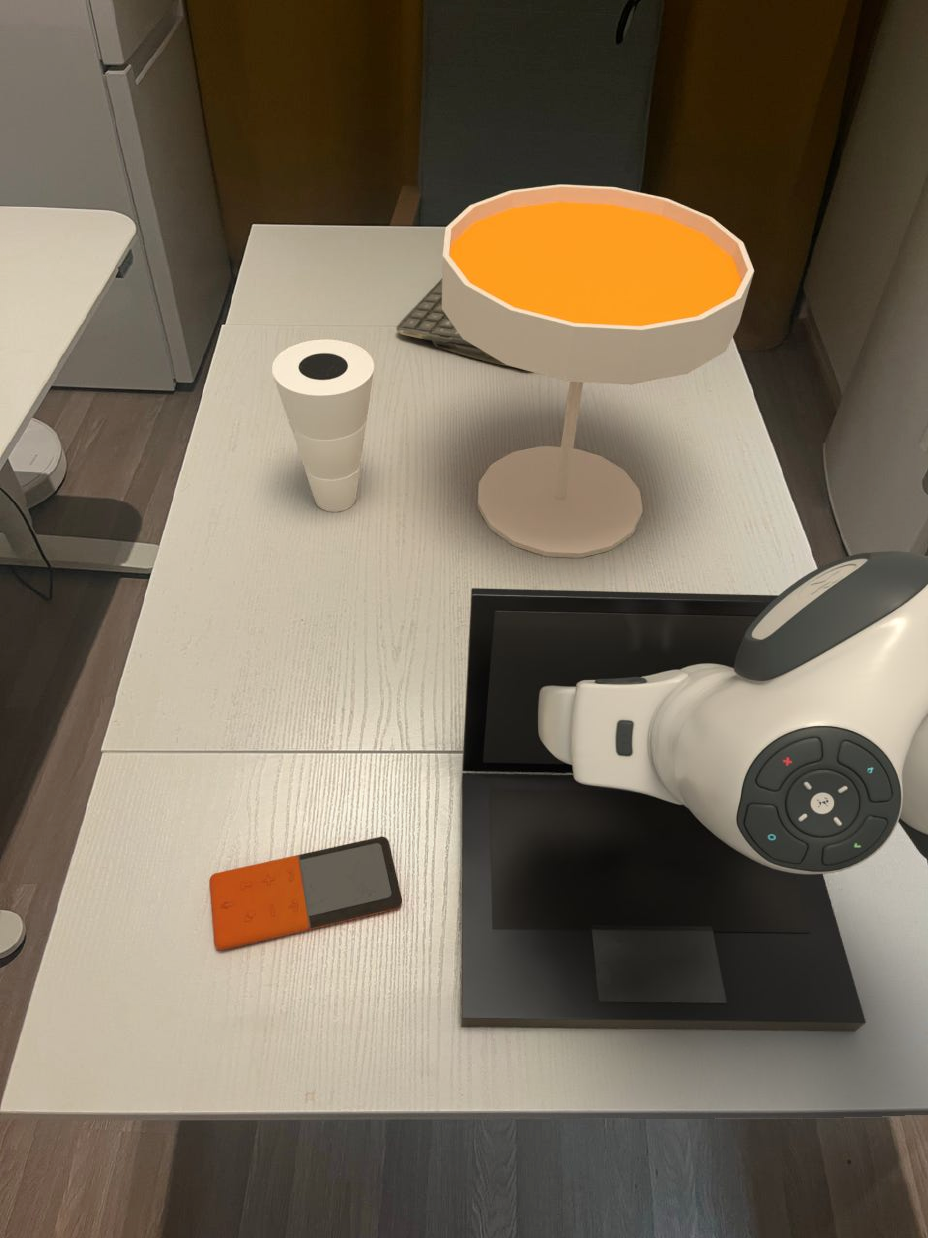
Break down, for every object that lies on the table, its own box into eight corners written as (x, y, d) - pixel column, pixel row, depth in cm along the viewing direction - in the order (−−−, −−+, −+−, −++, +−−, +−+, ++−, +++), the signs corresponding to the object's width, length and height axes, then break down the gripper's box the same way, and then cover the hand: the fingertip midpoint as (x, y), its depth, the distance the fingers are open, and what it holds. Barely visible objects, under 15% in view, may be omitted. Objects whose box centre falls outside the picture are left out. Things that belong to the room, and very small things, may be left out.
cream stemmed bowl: (523, 401, 122) (547, 161, 99) (722, 487, 111) (802, 239, 88) (386, 515, 105) (376, 257, 82) (605, 629, 94) (664, 369, 71)
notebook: (856, 1031, 68) (866, 1022, 66) (461, 1027, 67) (461, 1017, 65) (788, 790, 82) (795, 778, 80) (461, 784, 81) (462, 772, 79)
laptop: (620, 283, 145) (632, 219, 137) (555, 383, 125) (564, 314, 117) (476, 249, 151) (479, 186, 143) (392, 339, 131) (390, 271, 123)
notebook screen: (876, 605, 66) (872, 597, 67) (471, 595, 65) (471, 587, 66) (795, 778, 80) (792, 770, 81) (462, 772, 79) (462, 764, 80)
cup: (398, 493, 108) (394, 362, 95) (339, 541, 102) (327, 407, 89) (332, 459, 112) (319, 328, 99) (271, 503, 106) (250, 370, 93)
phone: (207, 871, 73) (387, 832, 76) (210, 879, 74) (387, 839, 77) (213, 948, 69) (403, 903, 72) (216, 954, 70) (403, 910, 73)
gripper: (881, 689, 56) (794, 665, 69) (554, 682, 55) (531, 659, 69) (876, 789, 56) (790, 746, 70) (551, 783, 55) (529, 740, 69)
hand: (659, 703), depth 69 cm, fingers closed
